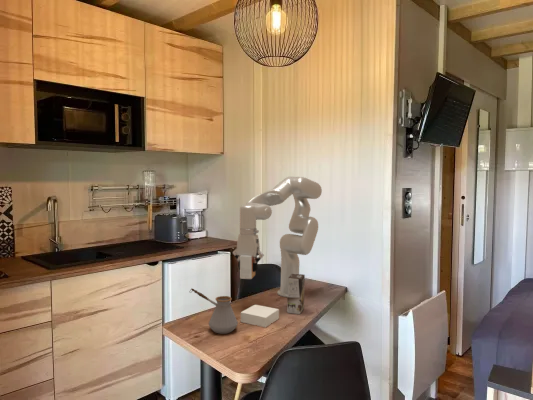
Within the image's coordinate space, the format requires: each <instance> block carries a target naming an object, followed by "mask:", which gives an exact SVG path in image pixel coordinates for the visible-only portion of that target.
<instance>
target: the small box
mask: <svg viewBox="0 0 533 400" xmlns="http://www.w3.org/2000/svg"><path fill="white" fill-rule="evenodd" d="M253 263H254V262H253V257H252V256H248V255H241V256H240V270H239V278H240V280H241V279H243V280H252V279H253V278H254V277H255V276H256V271H255V272H253Z"/></svg>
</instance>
